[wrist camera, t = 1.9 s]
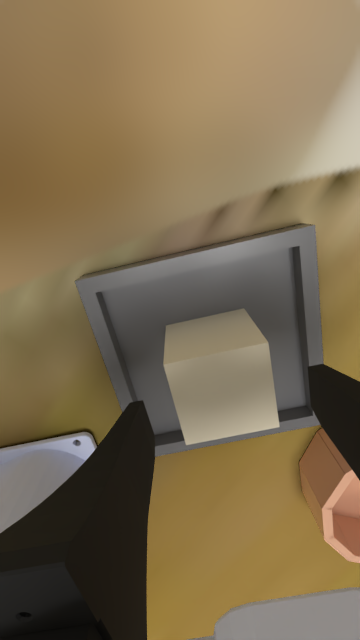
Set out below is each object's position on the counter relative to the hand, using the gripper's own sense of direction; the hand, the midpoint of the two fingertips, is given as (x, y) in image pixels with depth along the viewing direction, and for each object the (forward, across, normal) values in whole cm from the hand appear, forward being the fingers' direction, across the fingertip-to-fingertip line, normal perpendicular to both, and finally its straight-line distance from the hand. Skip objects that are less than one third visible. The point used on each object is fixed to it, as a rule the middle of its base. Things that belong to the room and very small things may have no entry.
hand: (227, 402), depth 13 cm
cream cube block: (+5, 0, 0) cm, 5 cm away
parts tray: (+6, 0, 0) cm, 6 cm away
